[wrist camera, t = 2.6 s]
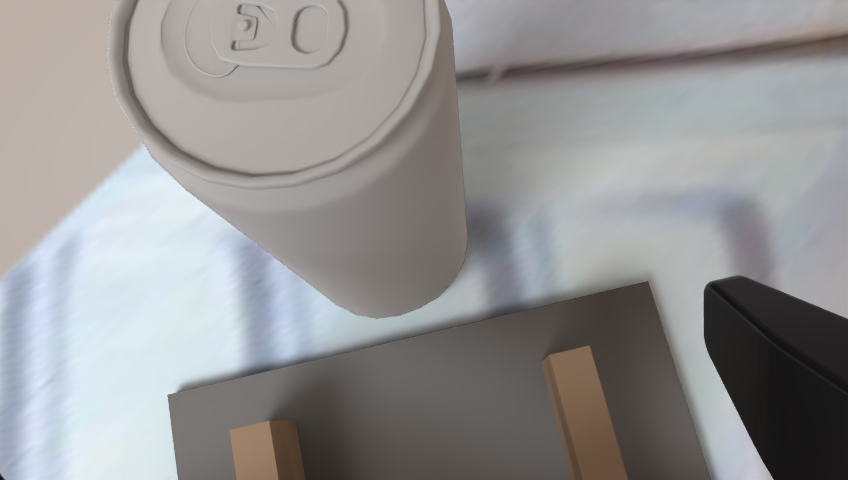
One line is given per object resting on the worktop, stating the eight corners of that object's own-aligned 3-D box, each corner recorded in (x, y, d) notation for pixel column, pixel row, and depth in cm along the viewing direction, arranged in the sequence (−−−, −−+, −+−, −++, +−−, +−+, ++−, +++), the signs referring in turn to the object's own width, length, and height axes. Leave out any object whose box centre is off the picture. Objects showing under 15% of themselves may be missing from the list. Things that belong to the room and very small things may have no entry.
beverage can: (319, 162, 22) (131, -132, 10) (473, 170, 21) (464, -127, 10) (298, 315, 20) (62, 186, 9) (462, 328, 20) (437, 207, 8)
